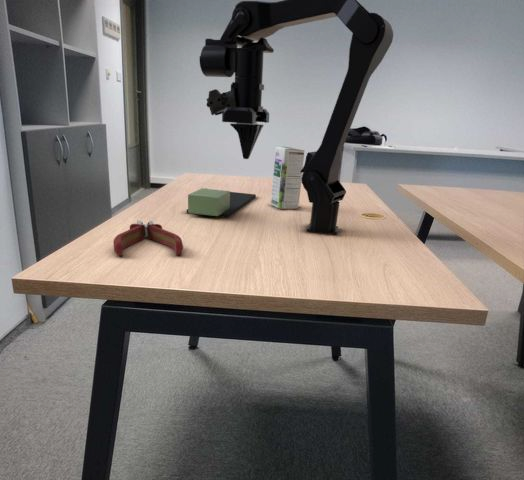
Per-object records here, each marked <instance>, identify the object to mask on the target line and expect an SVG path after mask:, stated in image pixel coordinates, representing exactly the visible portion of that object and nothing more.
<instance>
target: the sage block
mask: <svg viewBox="0 0 524 480" xmlns="http://www.w3.org/2000/svg"><path fill="white" fill-rule="evenodd" d="M230 192H231V191H230V190H223V189H213V188H204V187H201V188H200V189H197V190H195V191H192V192H191V193H188V195H187V209H188V213H187V214H190V213H194V214H193V215H198V214H203V215H202V216H207V215H212V216H211V217H216V216H219V215H220V214H222V213H223V212H225V211H226V210H228V209H229V208H230Z"/></svg>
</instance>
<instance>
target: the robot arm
mask: <svg viewBox="0 0 524 480" xmlns="http://www.w3.org/2000/svg"><path fill="white" fill-rule="evenodd" d="M336 17H337V18H338V19H339V20H340V21H341V22H342V24H343V25H344V26H345V27H346V28H347V29H348V30H349V31H350V32H351V33H352V35H351V40H350V44H349V51H348V66H347V70H346V74H345V76H344V79H343V82H342V85H341V87H340V91H339V93H338V96H337V99H336V101H335V105H334V107H333V110H332V113H331V116H330V117H329V118H330V119H329V121H328V124H327V127H326V129H325V132H324V135H323V138H322V140H321V144H320V145H319V147H318V149H317V150H316V151H309V152H307V153H306V156H305V159H304V160H305V161H304V164H303V169H302V170H301V171H300V172H301V173H302V179H301V185H302V186H303V188H304V189H305V191H306V194H307V199H308V202H309V203H310V204H311V212H310V222H309V224H308V225H307V227H306V232H310V233H318V234H327V235H337V234H338V230H339V226H338V225H337V224H338V217H339V210H340V201H343V200H344V197H345V195H346V193H347V190H346V189H345V187H344V186H343V184H342V183H341V182H340V179H338V178H339V174H340V170H341V160H342V151H343V148H344V146H345V143H346V140H347V138H348V135H349V133H350V130H351V127H352V124H353V122H354V120H355V116H356V114H357V112H358V109H359V106H360V104H361V102H362V99H363V96H364V94H365V91H366V88H367V86H368V84H369V81H370V78H371V77H372V75H373V74H374V72H375V71H376V70H377V68H378V67H379V66H380V64H381V63H382V61H383V59H384V58H385V56H386V54H387V52H388V51H389V49H390V47H391V45H392V43H393V39H394V30H393V28H392V24H391V23H390V22H389V21H388V20H387V19H385V18H384V17H383V16H382V15H380V14H379V13H376V12H369V11H368V10H367V9H366V8H365V7H364V6H363V5H362V4H361V3H360V2H359V1H358V0H279V1H262V0H242V1H239V2H237V4H235V6H234V9H233V10H232V13H231V18H230V20H229V22H228V24H227V26H226V27H225V28H224V31H223V33H222V35H220V36H221V37H220V39H213V38H205V41H204V43H205V44H204V46H203V47H202V49H201V52H200V55H199V66H200V70H201V73H202V74H203V76H205V77H210V78H232V77H233V76H234V81H232V82H231V84H230V90H228V91H225V92H222V93H221V91H220V90H218V89H212V90H209V91H208V98H206V107H207V108H208V109H209V111H210V114H211V116H220V115H221V122H222V123H229V125H230V127H232V128H233V129H234V131H236V133H237V135H238V140H239V144H240V149H241V154H242V157H243V160H249V159H250V157H251V154H252V153H253V150H254V147H255V145H256V143H257V141H258V138H259V136H260V134H261V132H262V129H263V128H264V124H259V123H265V124H267V123H270V112H269V111H268V110H267V109H266V108H264V106H262V98H263V97H262V96H263V91H265V84H263V74H264V73H263V71H264V54H273V53H274V51H275V50H274V49H275V48H273V47H272V46H271V45H270V43H269V42H268V39H267V38H268V37H271V36H272V35H274V34H276V33H277V32H279V30H283V29H284V28H289V27H293V26H298V25H303V24H307V23H312V22H318V21H323V20H327V19H331V18H332V19H333V18H336Z"/></svg>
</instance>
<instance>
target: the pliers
mask: <svg viewBox="0 0 524 480" xmlns="http://www.w3.org/2000/svg"><path fill="white" fill-rule="evenodd" d="M146 236H147V238H148V239H149V240H152V241H156V242H158V243H160V244H162V245H165V246H167V247H170V248H172V249H173V250H174V253H175V255H176V256H178V255H181V254H182V253H183V251H184V246H183V245H184V244H183V240H182V238H181V237H180V236H179V235H178V234H177V233H174V232H172V231H169V230H166V229H163V226H162V225H161V224H159V223H154V222H153V220H149V221H148V222H147V223H144V222H143V221H142V220H139V219H138V220H136V223H132V224H130V225H129V229H128V230H126V231H123V232H120V233H119V234H117V235H116V236H115V237H114V238H113V241H112V242H113V243H112V244H113V249H114V252H115V254H116V255H117V256H122V257H123V250H124V249H126V248H127V247H129V246H131V245H133V244H135V243H137V242H139V241H142V240H143V241H144V239H145V238H146Z"/></svg>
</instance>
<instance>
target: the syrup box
mask: <svg viewBox="0 0 524 480" xmlns="http://www.w3.org/2000/svg"><path fill="white" fill-rule="evenodd" d="M304 160H305V149H300V148H296V147H292V146H276V147H275V151H274V161H273V162H274V163H273V173H272V185H271V187H272V188H271V197H270V198H271V199H270V205H271V207H275V208H276V209H279V210H297V209H299V205H300V197H301V187H302V180H301V179H302V174H303V173H301V172H300V171H301V170H302V169H303V167H304V162H305V161H304Z"/></svg>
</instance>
